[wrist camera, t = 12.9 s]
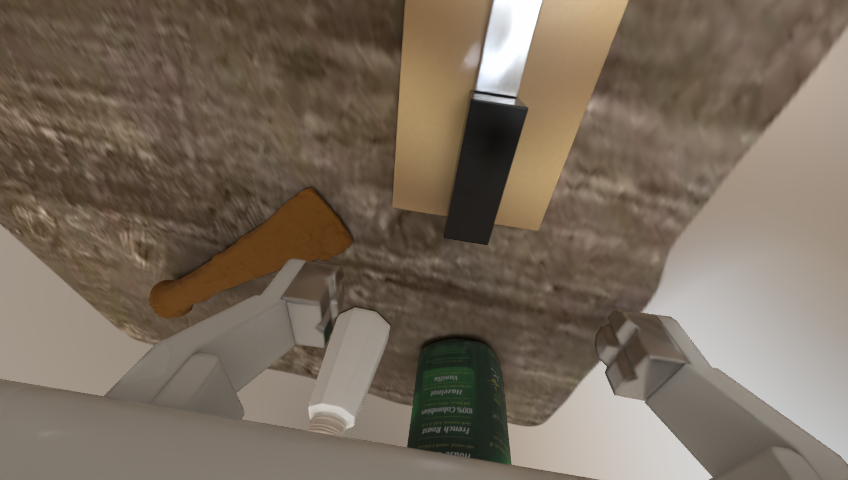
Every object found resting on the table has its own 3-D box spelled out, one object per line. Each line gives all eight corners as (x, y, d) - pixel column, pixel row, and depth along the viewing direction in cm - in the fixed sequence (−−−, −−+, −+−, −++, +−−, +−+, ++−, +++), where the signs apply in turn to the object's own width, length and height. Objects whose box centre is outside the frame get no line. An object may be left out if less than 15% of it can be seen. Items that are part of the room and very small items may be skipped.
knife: (540, -284, 10) (568, -407, 7) (621, -274, 10) (679, -395, 7) (446, 212, 20) (443, 238, 17) (485, 218, 20) (487, 245, 17)
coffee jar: (410, 337, 29) (345, 675, 13) (493, 330, 27) (528, 714, 12) (435, 393, 34) (409, 688, 18) (507, 391, 32) (545, 717, 16)
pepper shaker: (382, 304, 27) (339, 439, 18) (398, 343, 30) (367, 477, 20) (328, 308, 28) (260, 436, 19) (347, 345, 31) (297, 473, 22)
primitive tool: (312, 183, 21) (287, 206, 18) (359, 241, 23) (344, 270, 20) (166, 274, 28) (131, 301, 25) (214, 311, 30) (187, 340, 27)
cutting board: (430, -338, 10) (427, -366, 9) (739, -308, 10) (760, -334, 9) (394, 202, 21) (391, 207, 20) (536, 225, 21) (538, 231, 20)
